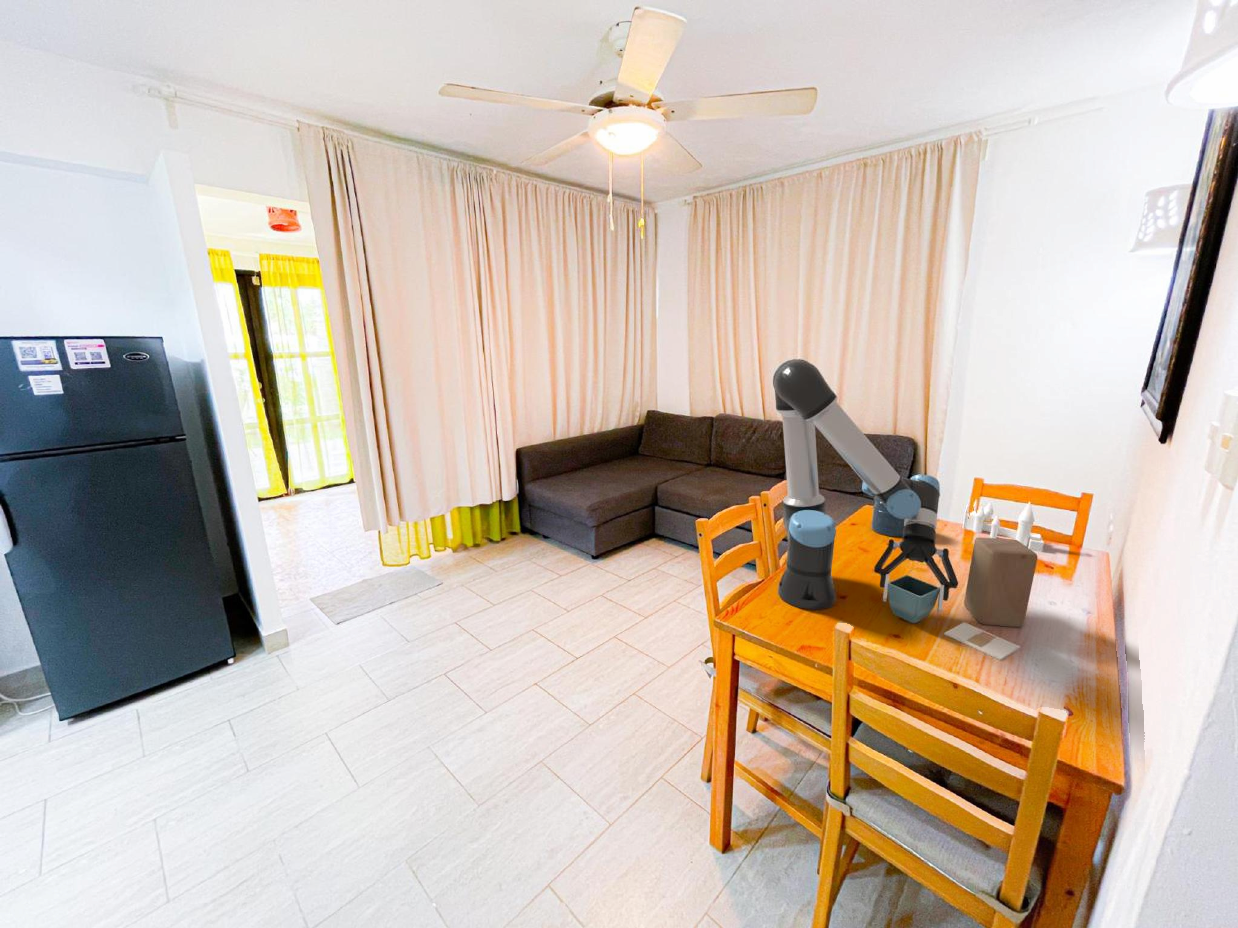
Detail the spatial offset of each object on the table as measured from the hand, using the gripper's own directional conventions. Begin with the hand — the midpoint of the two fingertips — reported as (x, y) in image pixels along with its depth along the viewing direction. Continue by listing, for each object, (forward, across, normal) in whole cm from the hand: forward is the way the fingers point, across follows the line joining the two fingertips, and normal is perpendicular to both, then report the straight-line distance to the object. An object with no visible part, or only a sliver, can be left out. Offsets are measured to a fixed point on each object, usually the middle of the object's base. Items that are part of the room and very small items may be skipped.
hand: (911, 605), depth 127 cm
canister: (-44, +7, -50) cm, 67 cm away
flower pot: (+2, 0, -5) cm, 5 cm away
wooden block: (-6, -18, -12) cm, 23 cm away
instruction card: (+4, -15, -2) cm, 16 cm away
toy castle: (-53, -29, -60) cm, 85 cm away
